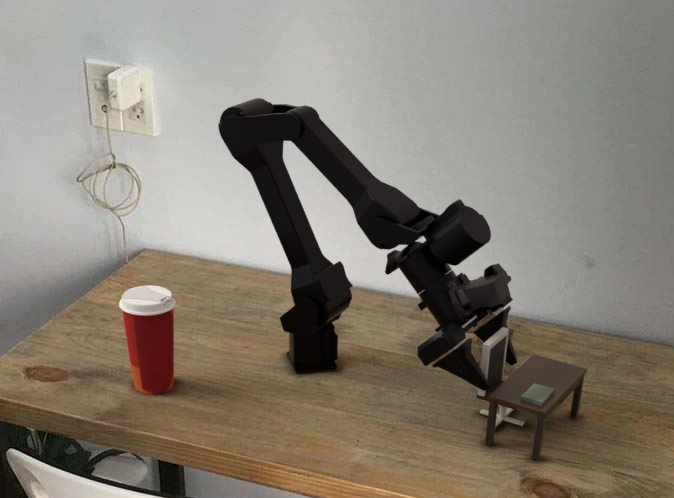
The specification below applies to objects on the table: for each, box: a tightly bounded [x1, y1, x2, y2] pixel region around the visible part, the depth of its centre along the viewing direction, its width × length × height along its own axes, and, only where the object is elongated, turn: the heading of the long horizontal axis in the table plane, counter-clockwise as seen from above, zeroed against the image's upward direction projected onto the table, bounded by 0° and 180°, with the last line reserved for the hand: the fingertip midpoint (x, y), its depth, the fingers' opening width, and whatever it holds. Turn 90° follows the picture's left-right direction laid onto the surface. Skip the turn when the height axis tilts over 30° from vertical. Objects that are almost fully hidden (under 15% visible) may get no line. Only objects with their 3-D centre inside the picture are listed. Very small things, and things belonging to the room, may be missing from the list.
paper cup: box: [118, 284, 177, 395], centre depth 157 cm, size 8×8×14 cm
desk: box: [484, 353, 588, 462], centre depth 153 cm, size 8×15×8 cm, turn 150°
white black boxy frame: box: [475, 327, 527, 429], centre depth 153 cm, size 7×7×12 cm
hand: (501, 376), depth 153 cm, fingers open, 9 cm apart
